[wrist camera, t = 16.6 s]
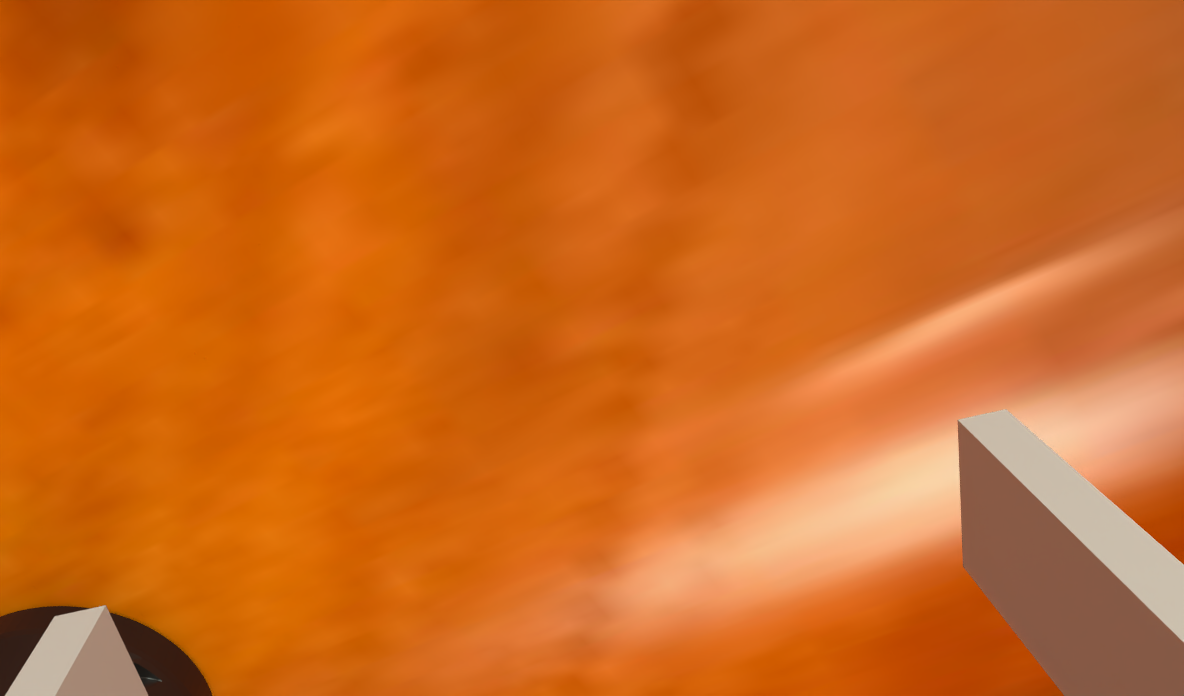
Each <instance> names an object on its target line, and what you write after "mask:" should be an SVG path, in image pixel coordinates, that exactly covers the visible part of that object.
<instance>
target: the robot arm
mask: <svg viewBox="0 0 1184 696" xmlns="http://www.w3.org/2000/svg"><path fill="white" fill-rule="evenodd" d="M958 441H959V468H960V496H961V523H962V551H963V567H964V568H965V569H966V571H967V572H968V573H969V575H970V576H971V577H972V578H973V580H974V581H975V582H976V583H977V585H978V586H979V587H980V589H981V590H982V591H983V592H984V594H985V595H986V596H987V597H988V599H989V600H990V601H991V603H992V604H993V605H994V606H995V608H996V609H997V610H998V612H999V613H1000V614H1001V615H1002V617H1003V618H1004V619H1005V620H1006V622H1007V623H1008V624H1009V626H1010V627H1011V628H1012V629H1013V631H1014V632H1015V633H1016V634H1017V636H1018V637H1019V638H1020V640H1021V641H1022V642H1023V643H1024V645H1025V646H1026V647H1027V649H1028V650H1029V651H1030V652H1031V654H1032V655H1033V656H1034V657H1035V659H1036V660H1037V661H1038V663H1039V664H1040V665H1041V666H1042V668H1043V669H1044V670H1045V671H1046V673H1047V674H1048V675H1049V677H1050V678H1051V679H1052V680H1053V682H1054V683H1055V684H1056V686H1057V687H1058V688H1059V689H1060V691H1061V692H1062V693H1063V694H1064V696H1184V565H1183V564H1182V563H1181V562H1180V561H1179V560H1178V559H1176V558H1175V557H1174V556H1173V555H1172V554H1171V553H1170V552H1168V551H1167V550H1166V549H1165V548H1164V547H1163V546H1162V545H1160V544H1159V543H1158V542H1157V541H1156V540H1155V539H1154V538H1152V537H1151V536H1150V535H1149V534H1148V533H1147V532H1146V531H1144V530H1143V529H1142V528H1141V527H1140V526H1139V525H1138V524H1136V523H1135V522H1134V521H1133V520H1132V519H1131V518H1130V517H1128V516H1127V515H1126V514H1125V513H1124V512H1123V511H1122V510H1120V509H1119V508H1118V507H1117V506H1116V505H1115V504H1114V503H1112V502H1111V501H1110V500H1109V499H1108V498H1107V497H1106V496H1104V495H1103V494H1102V493H1101V492H1100V491H1099V490H1098V489H1097V488H1095V487H1094V486H1093V485H1092V484H1091V483H1090V482H1089V481H1087V480H1086V479H1085V478H1084V477H1083V476H1082V475H1081V474H1079V473H1078V472H1077V471H1076V470H1075V469H1074V468H1073V467H1071V466H1070V465H1069V464H1068V463H1067V462H1066V461H1065V460H1063V459H1062V458H1061V457H1060V456H1059V455H1058V454H1057V453H1055V452H1054V451H1053V450H1052V449H1051V448H1050V447H1049V446H1047V445H1046V444H1045V443H1044V442H1043V441H1042V440H1041V439H1039V438H1038V437H1037V436H1036V435H1035V434H1034V433H1033V432H1031V431H1030V430H1029V429H1028V428H1027V427H1026V426H1025V425H1023V424H1022V423H1021V422H1020V421H1019V420H1018V419H1017V418H1015V417H1014V416H1013V415H1012V414H1011V413H1010V412H1009V411H1007V410H1006V409H1005V410H1000V411H996V412H991V413H986V414H982V415H977V416H973V417H968V418H964V419H959V420H958ZM0 696H212V694H211V691H210V689H209V687H208V685H207V683H206V681H205V679H204V677H203V675H202V674H201V672H200V671H199V669H198V668H197V667H196V666H195V664H194V663H193V662H192V661H191V660H190V658H189V657H188V656H187V655H186V654H185V653H184V652H183V651H182V650H181V649H179V648H178V647H177V646H176V645H175V644H173V643H172V642H171V641H169V640H168V639H167V638H165V637H164V636H162V635H161V634H159V633H157V632H156V631H154V630H152V629H150V628H148V627H147V626H144V625H142V624H140V623H138V622H136V621H133V620H131V619H128V618H125V617H122V616H119V615H116V614H113V613H109V611H108V609H107V607H106V605H105V606H100V607H96V608H91V609H89V608H81V607H67V606H53V607H39V608H32V609H27V610H22V611H17V612H14V613H10V614H7V615H4V616H1V617H0Z"/></svg>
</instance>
